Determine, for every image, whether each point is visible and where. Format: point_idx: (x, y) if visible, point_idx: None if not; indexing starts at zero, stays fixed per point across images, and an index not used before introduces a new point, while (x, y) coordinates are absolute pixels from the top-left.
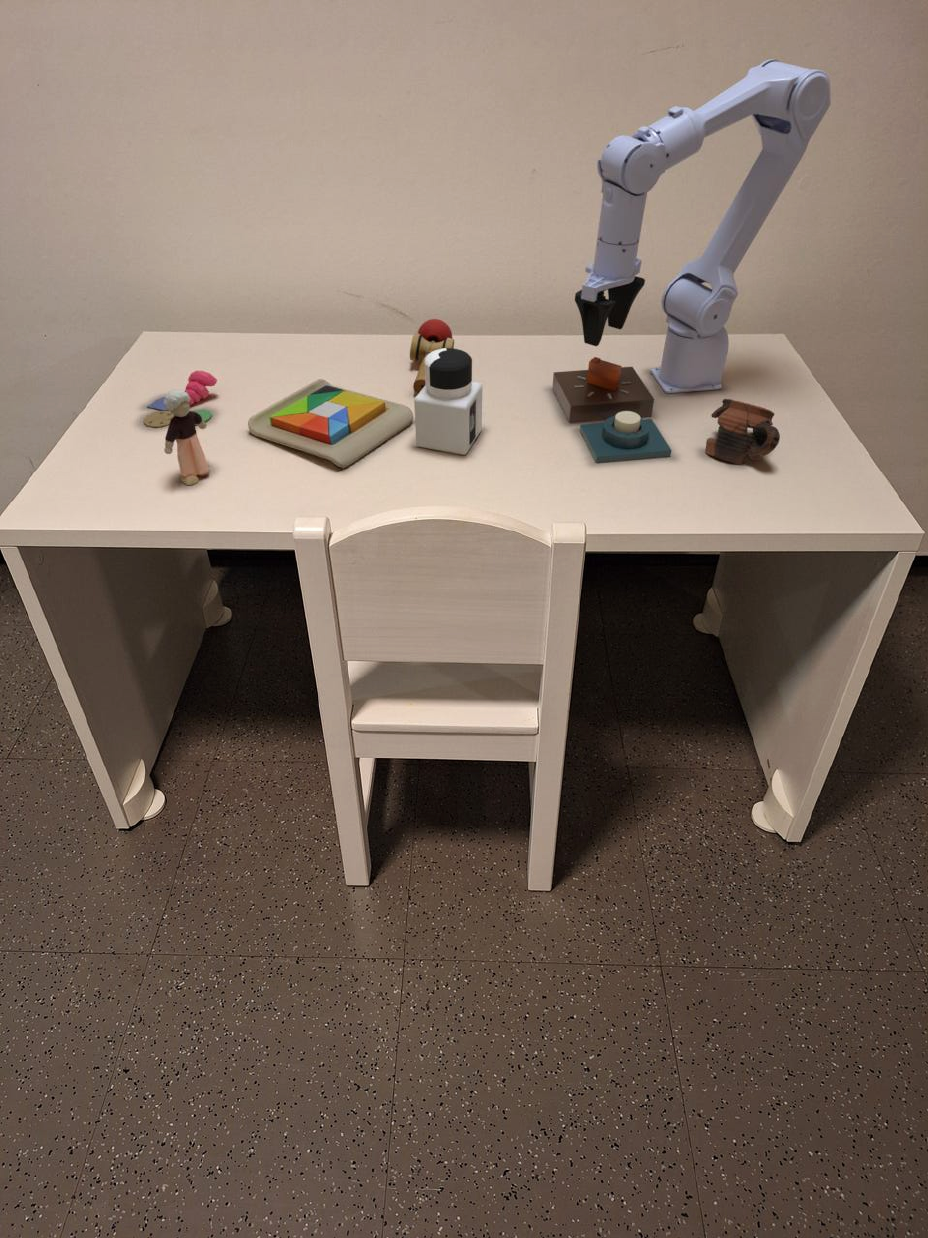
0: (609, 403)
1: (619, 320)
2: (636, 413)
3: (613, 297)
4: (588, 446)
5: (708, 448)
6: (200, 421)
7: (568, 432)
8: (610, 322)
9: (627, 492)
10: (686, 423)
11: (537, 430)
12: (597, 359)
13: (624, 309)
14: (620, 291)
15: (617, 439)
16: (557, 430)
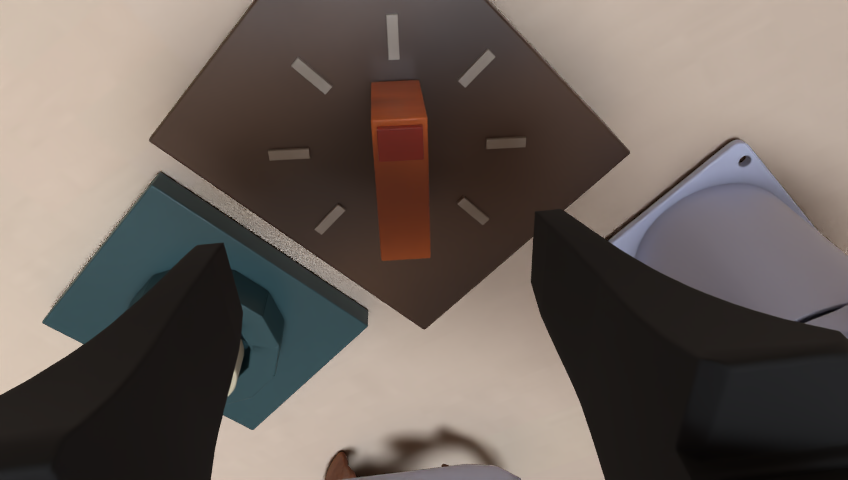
0: (291, 238)
1: (548, 300)
2: (233, 382)
3: (609, 337)
4: (95, 253)
5: (335, 471)
6: None
7: (122, 143)
8: (539, 235)
9: None
10: (450, 367)
11: (24, 40)
12: (402, 153)
13: (574, 370)
14: (628, 425)
15: None
16: (97, 104)
